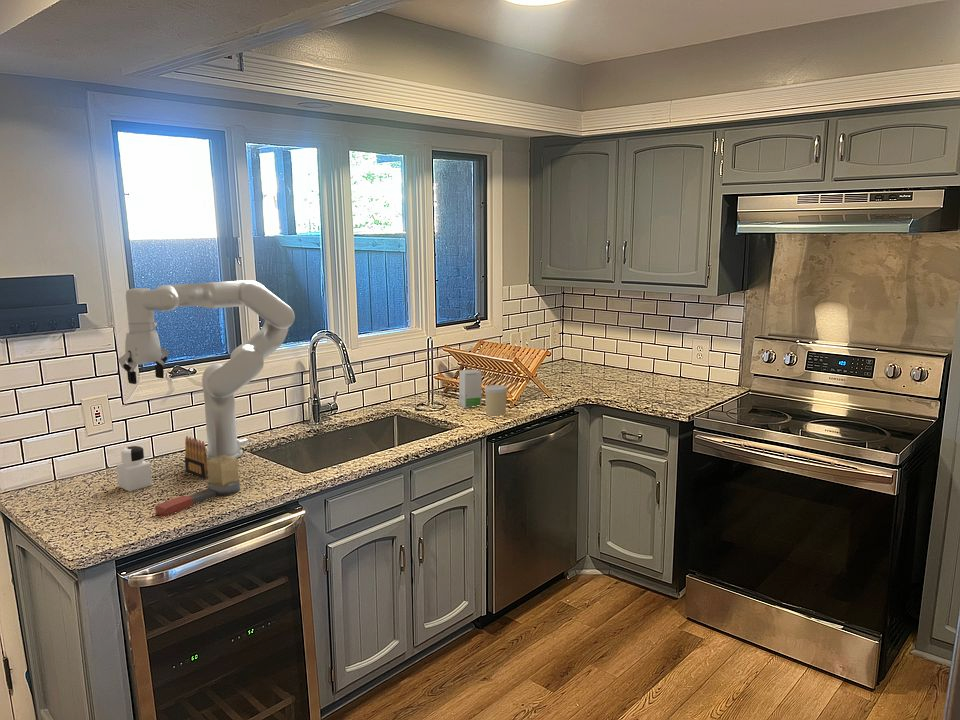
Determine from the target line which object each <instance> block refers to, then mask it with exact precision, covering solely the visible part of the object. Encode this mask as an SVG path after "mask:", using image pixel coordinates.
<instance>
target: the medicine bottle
mask: <svg viewBox="0 0 960 720" xmlns="http://www.w3.org/2000/svg"><path fill="white" fill-rule="evenodd" d="M120 455H121V462H120V463H117V464H116V474H117V485H118V487H119V488H121V489H124V490H125V491H127V492H133V491H137V490H140V489H145V488H147V487H151V486H153V477H152V465H151V462H148V461H146V460H145V454H144V448H143V447H142V446H138V445H131V446H127V447H124V448H123V449H121V451H120Z"/></svg>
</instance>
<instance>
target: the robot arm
mask: <svg viewBox="0 0 960 720" xmlns="http://www.w3.org/2000/svg"><path fill="white" fill-rule="evenodd" d="M125 301H126V302H125V303H126V312H127V324H128V332H127V333H126V335H125V346H124V348H125V349H124V353H125V354H123V355H121V356H120V357H118V360H117V361H118V363H119V365H120V366H121V367H122V369H124V371H126V374H127V380H128V383H129V384H131V385H136V384H137V383H138V380H137V372H136V367H137V366H140V365H145V364H150V363H155V364H156V365H154V370H155V371H154V372H155V378H158V379H164V377H165V376H164V374H165V373H164V372H165V371H164V370H165V369H164V366H165V365H166V362H167V360H168V356H169V355H170V351H169V350H167V349H165V348H162V347H161V342H160V338H159V334H158V332H157V330H156V327H157V326H158V322H156V321H155V313H154V312H170V311H171V312H172V311H173V310H175V309H176V308H182V307H200V308H206V309H223V308H235V307H236V308H238V307H248V308H249V309H250V310H251V311H253V312H254V313H255V314H257V316H259V317H261V319H263V320H264V323H263V326H262V327H261V328H260V329H259V330H258V331H257V332H256V333H255V334H253V335H252V336H251V337H250V338H248V339H247V340H246V341H244V342H243V343H241V344H239V346H237V347H236V348H235V349H234V350H232V351H231V353H230V359H229V360H228V361H226V362H225V363H224V364H222V363H213V364H210V365H208V366H207V367H206V368H205V369H204V370H203V374H202V377H201V378H202V379H201V381H202V382H201V383H202V391H203V392H202V393H203V400H204V412H205V413H204V414H205V427H206V440H207V442H206V443H207V450H206V454H207V460H210V459H213V458H216V457H219V456H222V455H226V456H230V457H234V458H237V459H238V458H240V457H241V456H242V455H243V454H244V453H243V452H244V451H243V449H242V448H241V447H242V446H245V445H247V444H249V439H248V438H242V439H240V438H238V434H237V433H238V432H237V431H238V429H237V420H236V419H237V417H236V401H235V393H236V392H238V391H239V390H240V389H242V388H243V387H245V386H246V385H247V384H248V383H249V382H251V381H253V380H254V379H255V378H256V377H257V376H258V375H260V373H261V371H263V368H264V365H265V364H264V363H265V359H267V358H268V357H270V356H271V355H272V354H273V353H275V351H276V350H278V349H279V348H280V346H281V345H282V344H283V343H284V342H285V340H286V337H287V335H288V333H289V329H290V327H291V326H293V324H294V322H295V319H296V315H295V312H294V309H292V307H291V306H289V305H288V304H287V303H285V301H283V300H282V299H281V298H279V297H278V296H277V295H275V294H274V293H273V292H272V291H270V290H269V289H268V288H266V287H265V285H263V284H262V283H260V282H258V281H256V280H252V279H250V280H248V279H247V280H246V279H245V280H234V281H233V280H231V281H213V282H200V283H199V282H198V283H182V284H181V283H179V284H164V285H159V286H157V287H156V288H155V289H150V288H147V287H138V288H136V287H135V288H130V289H127V290H126V292H125Z"/></svg>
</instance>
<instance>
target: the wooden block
mask: <svg viewBox="0 0 960 720" xmlns="http://www.w3.org/2000/svg"><path fill="white" fill-rule="evenodd" d="M207 468H208V478H207V481H208V482H209V484H213V485H217V486H221V487H224V486H227V485H229V484H232V483H234V482H237V481H239V480H240V476H239V464H238V458H234V457H230V456H226V455H222V456H219V457H216V458H213V459H210V460H207Z"/></svg>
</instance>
